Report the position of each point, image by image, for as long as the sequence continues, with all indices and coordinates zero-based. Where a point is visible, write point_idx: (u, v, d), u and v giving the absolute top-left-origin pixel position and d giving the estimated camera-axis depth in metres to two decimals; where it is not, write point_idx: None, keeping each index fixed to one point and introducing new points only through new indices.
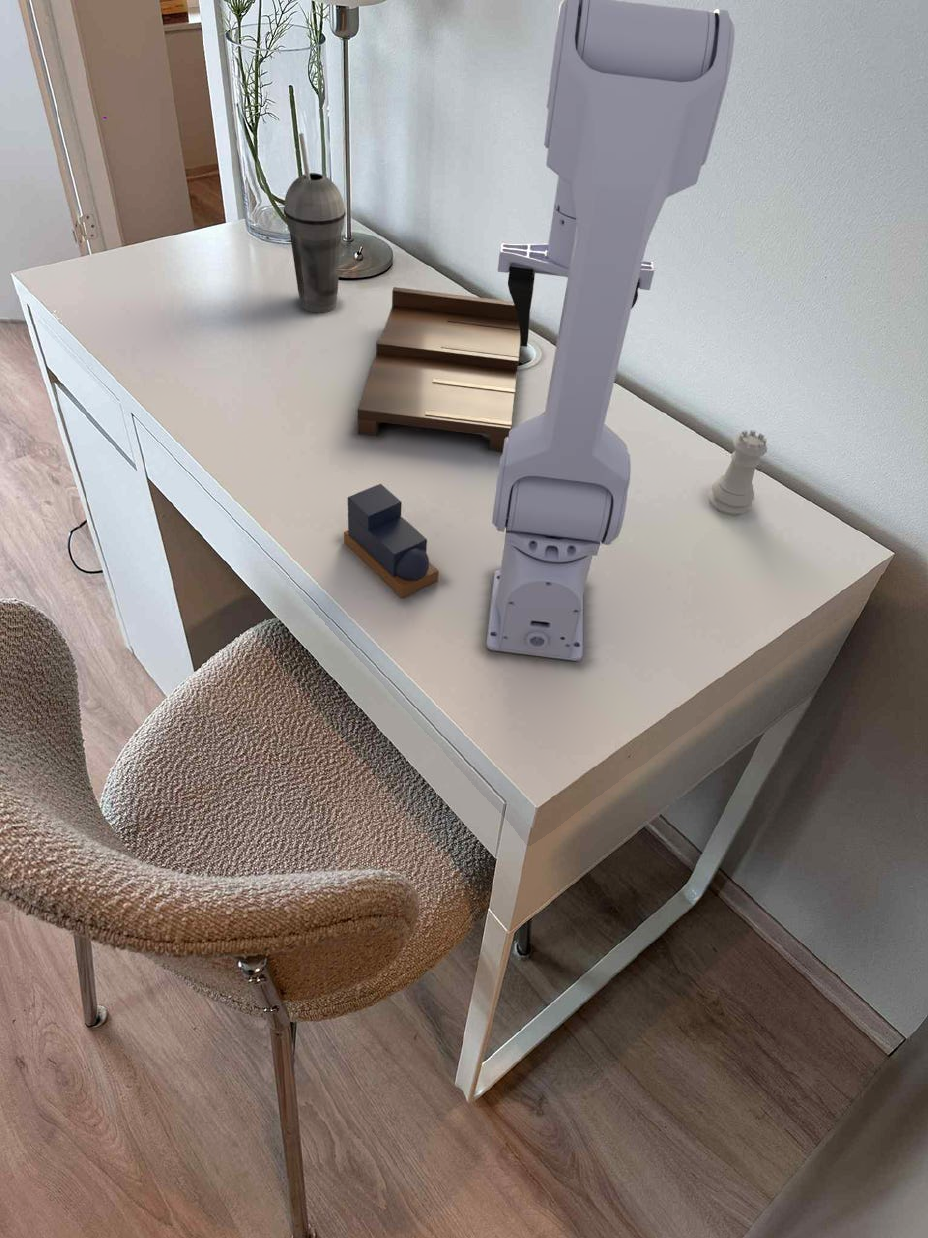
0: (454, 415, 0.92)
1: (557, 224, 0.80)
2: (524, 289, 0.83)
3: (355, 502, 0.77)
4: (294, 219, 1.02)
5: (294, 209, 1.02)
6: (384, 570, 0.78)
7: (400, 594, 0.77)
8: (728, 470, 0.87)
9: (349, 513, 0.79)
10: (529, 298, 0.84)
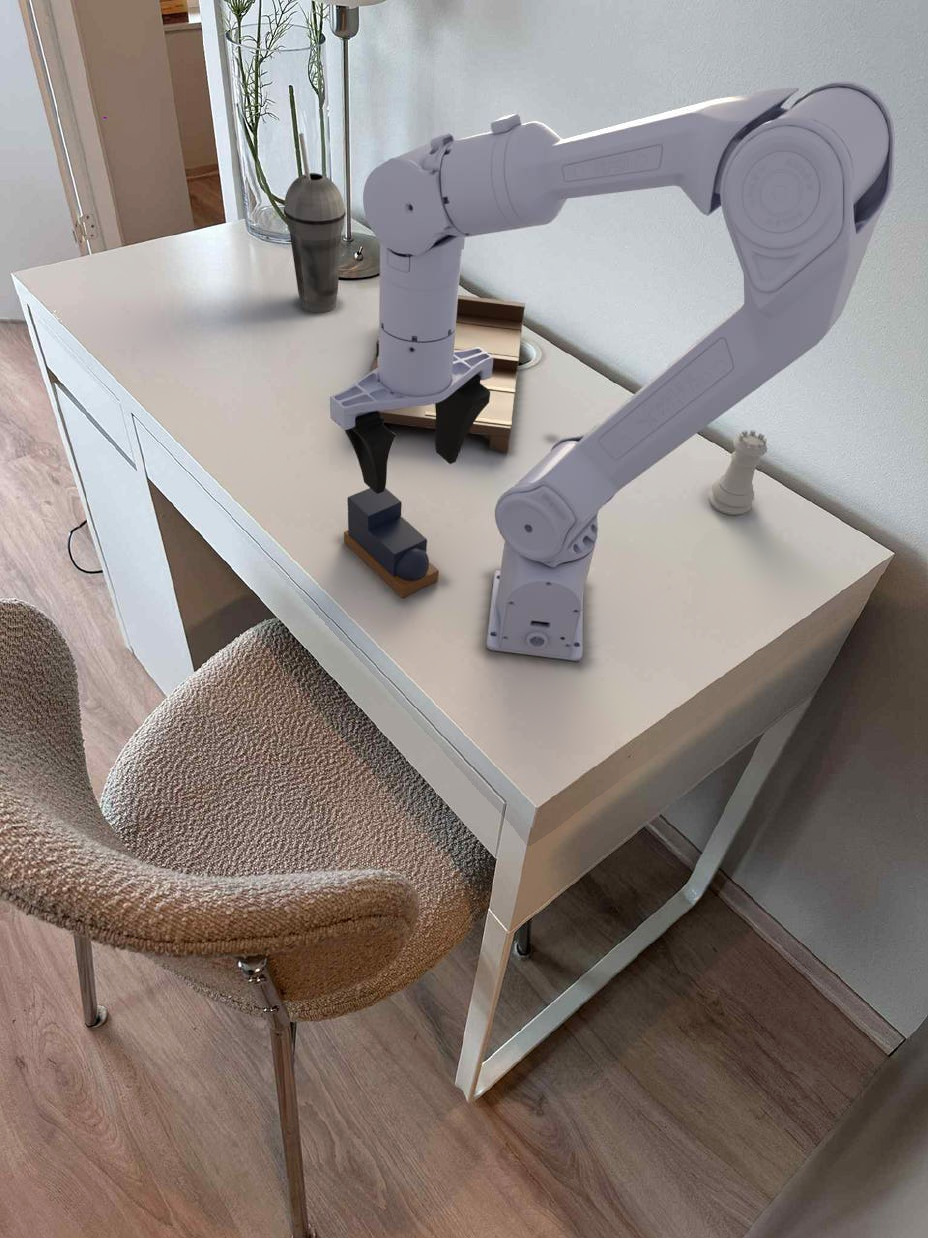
0: None
1: (404, 354, 0.65)
2: (388, 437, 0.67)
3: (355, 502, 0.77)
4: (294, 219, 1.02)
5: (294, 209, 1.02)
6: (384, 570, 0.78)
7: (400, 594, 0.77)
8: (728, 470, 0.87)
9: (349, 513, 0.79)
10: (390, 443, 0.69)
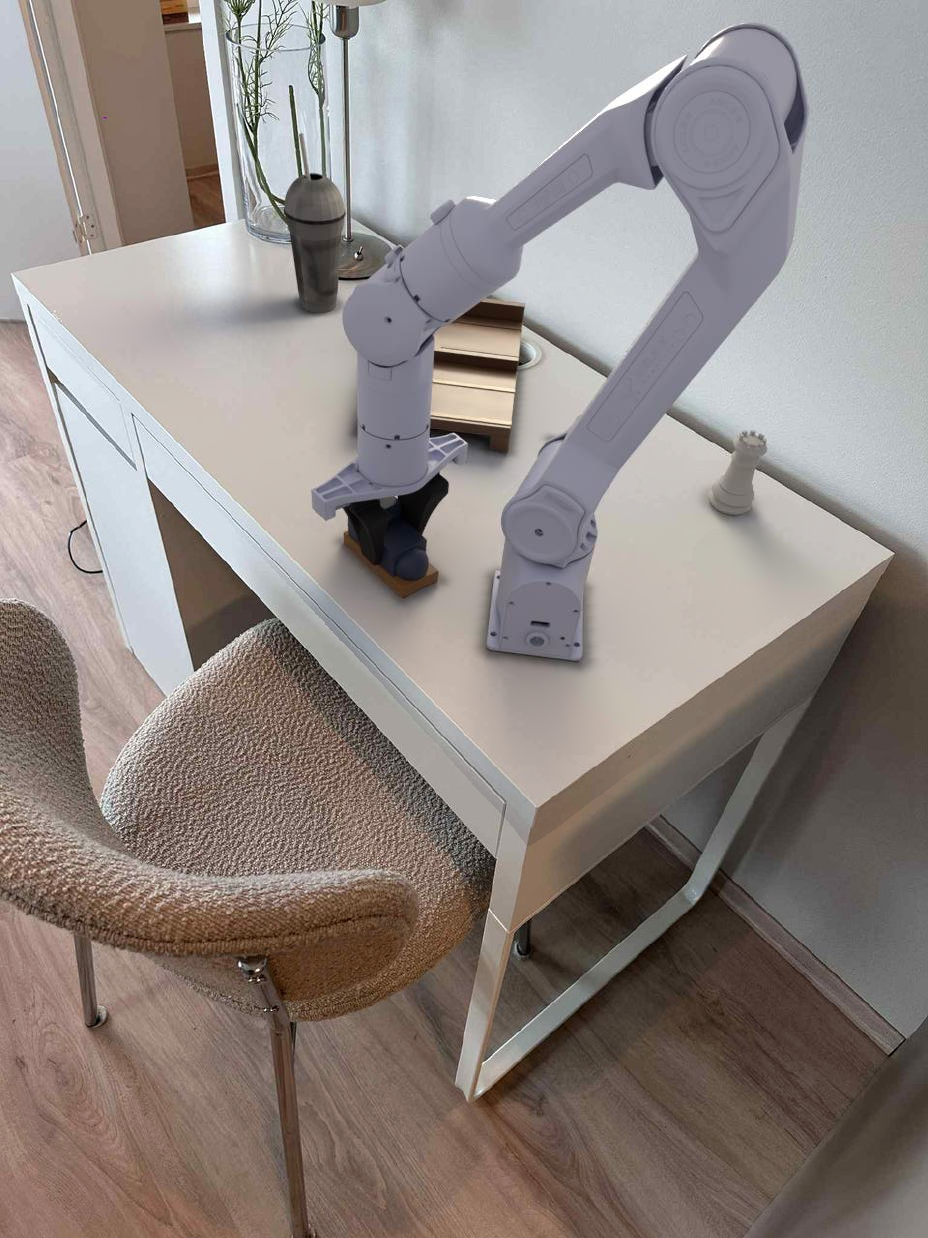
0: (454, 415, 0.92)
1: (381, 450, 0.68)
2: (384, 519, 0.72)
3: None
4: (294, 219, 1.02)
5: (294, 209, 1.02)
6: (384, 570, 0.78)
7: (400, 594, 0.77)
8: (728, 470, 0.87)
9: None
10: (386, 523, 0.73)
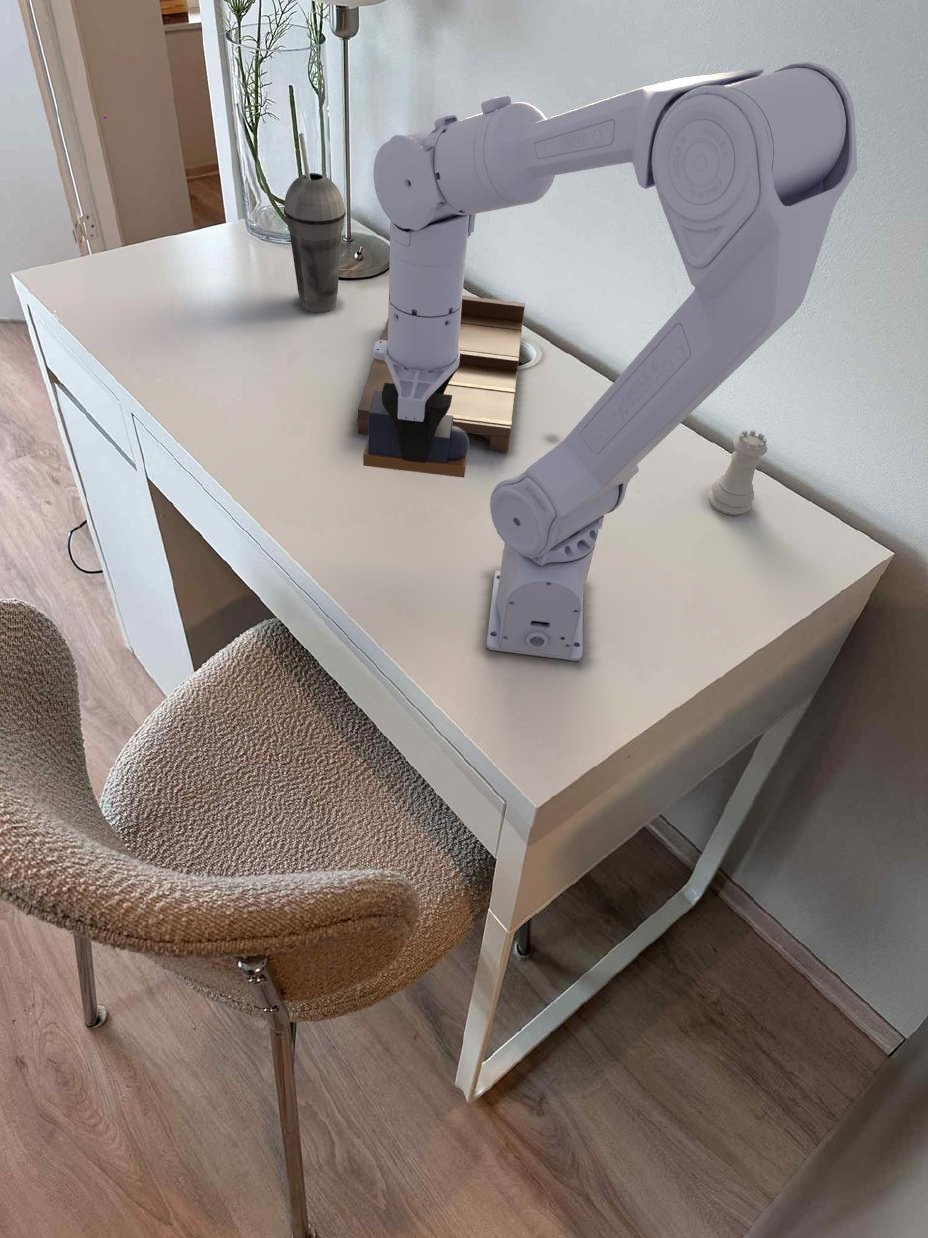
0: (454, 415, 0.92)
1: (441, 329, 0.68)
2: None
3: (380, 413, 0.75)
4: (294, 219, 1.02)
5: (294, 209, 1.02)
6: (434, 462, 0.77)
7: (462, 474, 0.78)
8: (728, 470, 0.87)
9: (371, 429, 0.76)
10: None
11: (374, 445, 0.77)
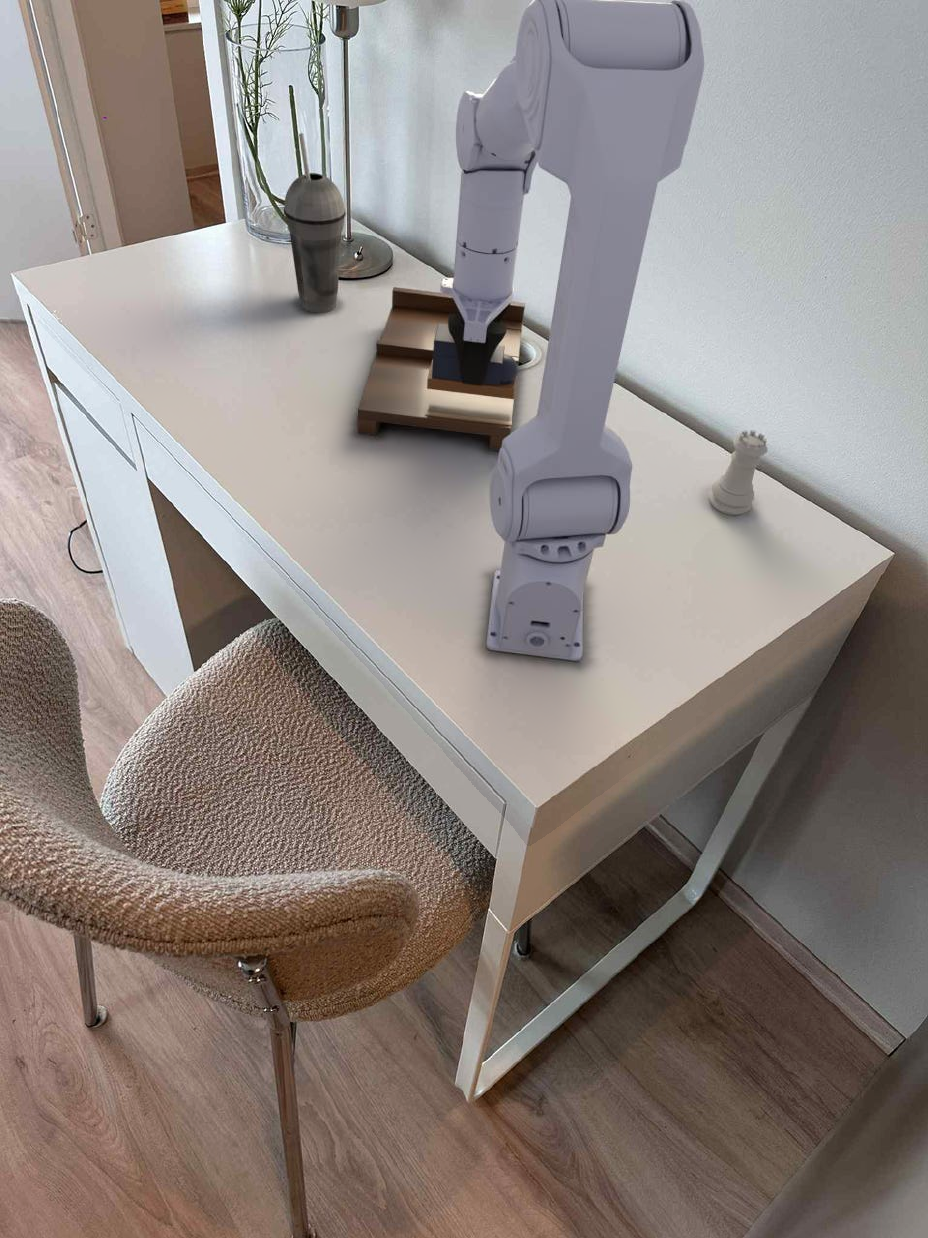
0: (454, 415, 0.92)
1: (501, 265, 0.81)
2: (506, 328, 0.85)
3: (444, 340, 0.88)
4: (294, 219, 1.02)
5: (294, 209, 1.02)
6: (488, 385, 0.90)
7: (512, 396, 0.91)
8: (728, 470, 0.87)
9: (436, 355, 0.89)
10: None
11: (437, 370, 0.90)
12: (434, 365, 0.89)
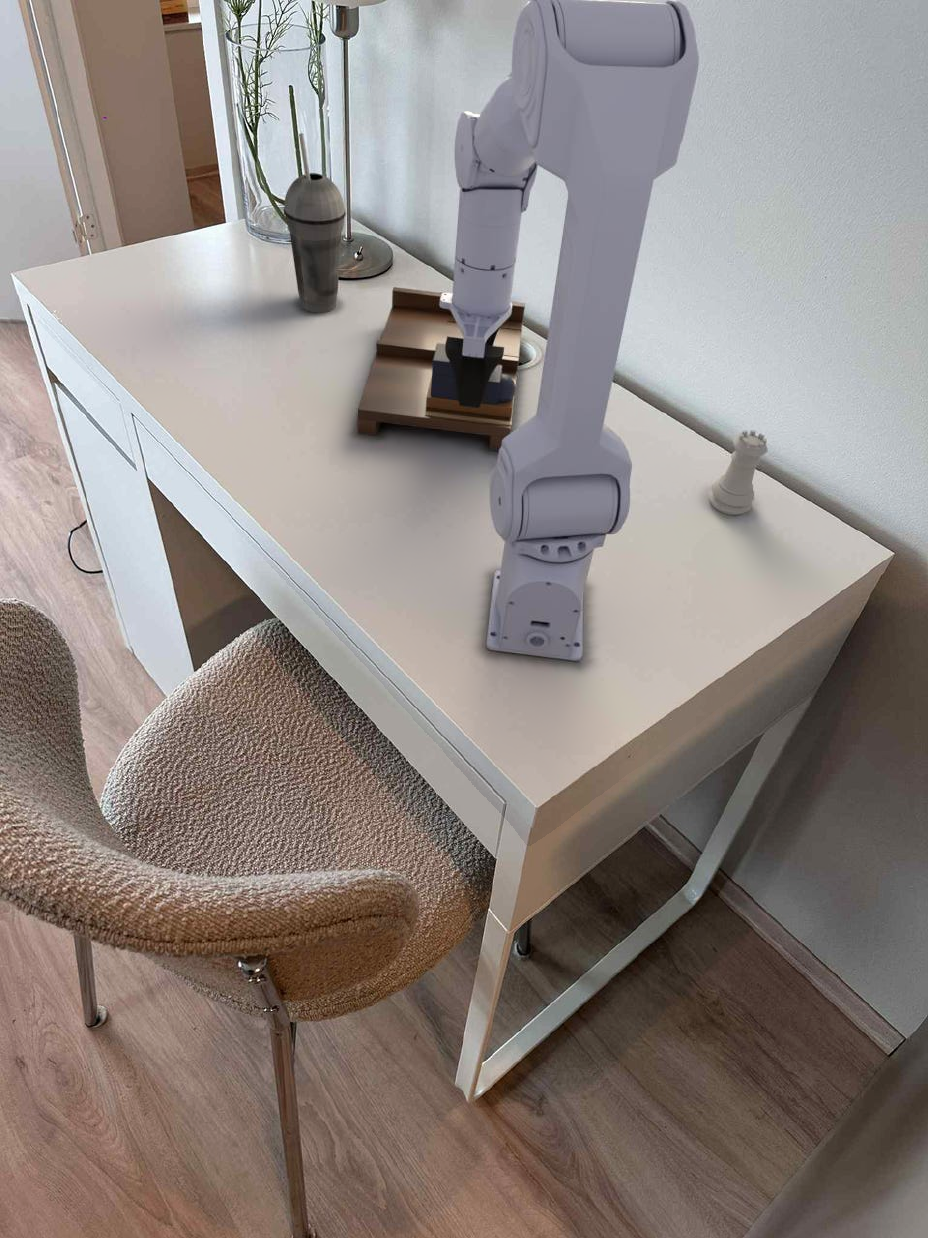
0: (454, 415, 0.92)
1: (499, 281, 0.82)
2: (503, 351, 0.85)
3: (443, 360, 0.89)
4: (294, 219, 1.02)
5: (294, 209, 1.02)
6: (486, 404, 0.92)
7: (509, 415, 0.92)
8: (728, 470, 0.87)
9: (434, 375, 0.90)
10: None
11: (436, 389, 0.91)
12: (433, 384, 0.91)
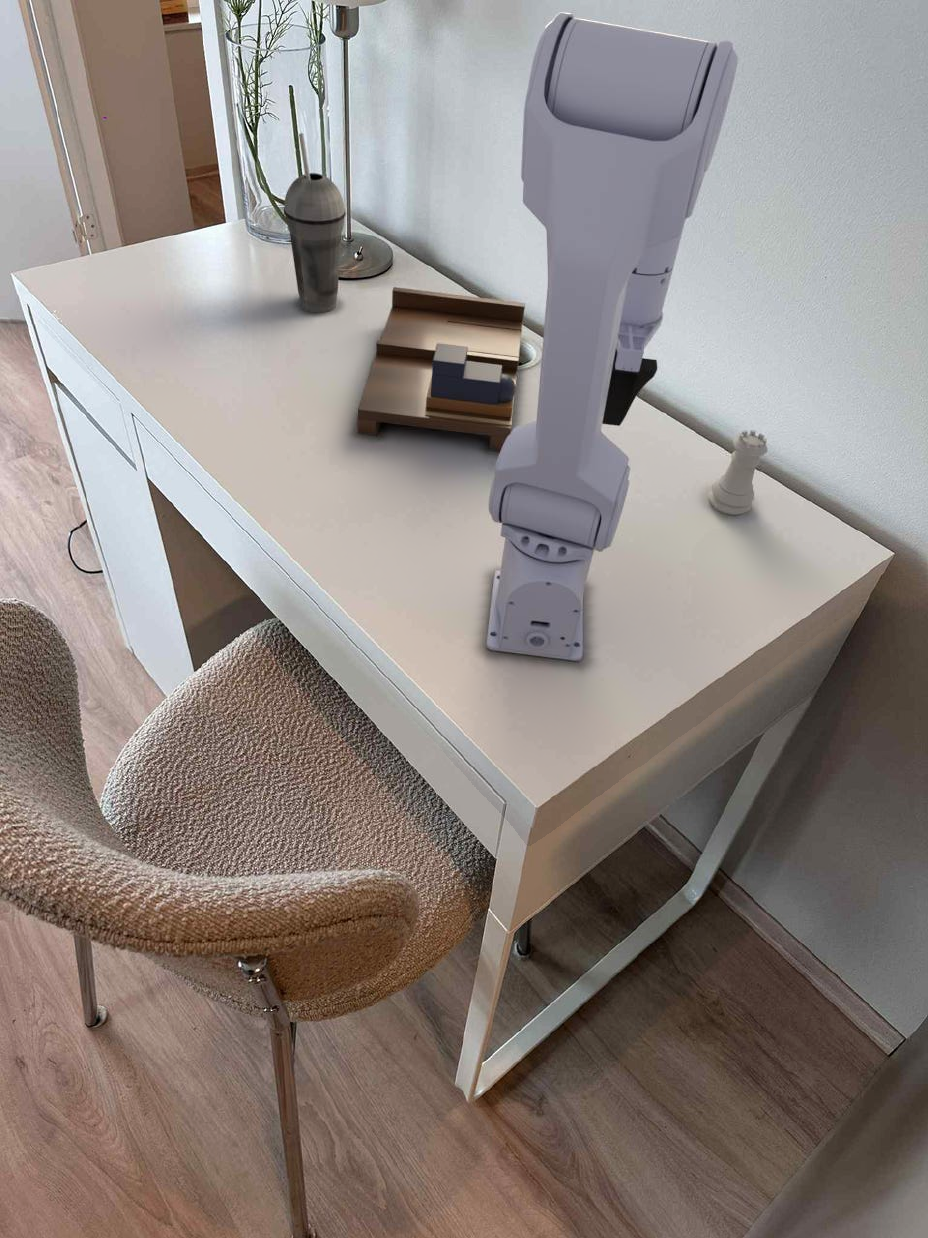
0: (454, 415, 0.92)
1: (657, 287, 0.74)
2: (656, 364, 0.77)
3: (443, 360, 0.89)
4: (294, 219, 1.02)
5: (294, 209, 1.02)
6: (486, 404, 0.92)
7: (509, 415, 0.92)
8: (728, 470, 0.87)
9: (434, 375, 0.90)
10: None
11: (436, 389, 0.91)
12: (433, 384, 0.91)
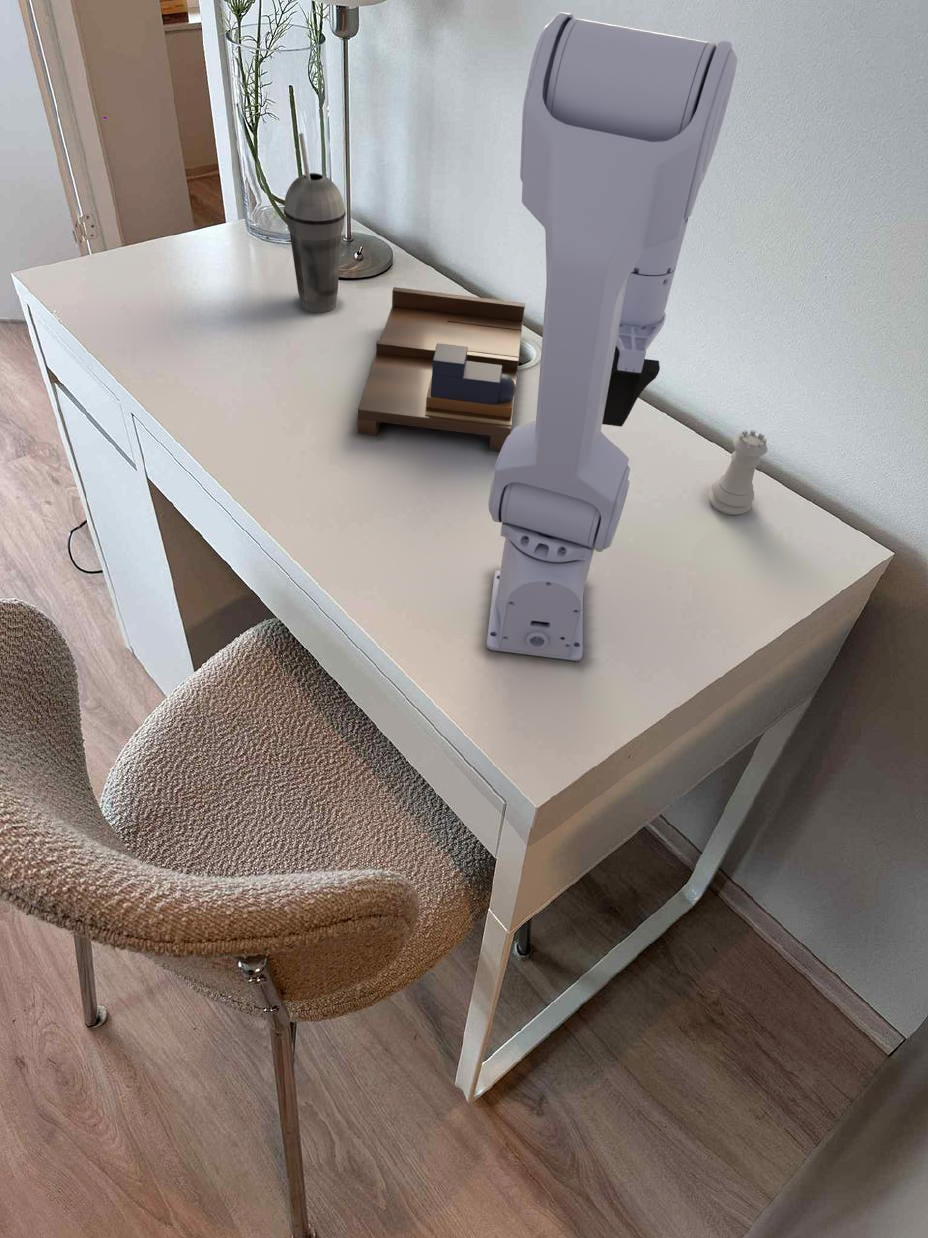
0: (454, 415, 0.92)
1: (659, 288, 0.74)
2: (658, 365, 0.77)
3: (443, 360, 0.89)
4: (294, 219, 1.02)
5: (294, 209, 1.02)
6: (486, 404, 0.92)
7: (509, 415, 0.92)
8: (728, 470, 0.87)
9: (434, 375, 0.90)
10: None
11: (436, 389, 0.91)
12: (433, 384, 0.91)
